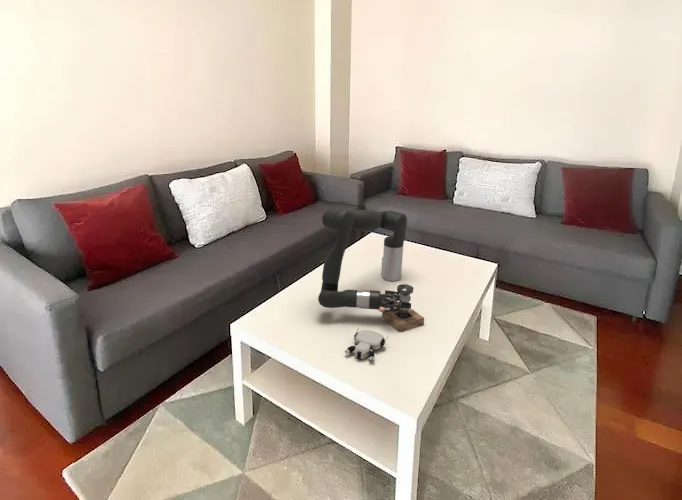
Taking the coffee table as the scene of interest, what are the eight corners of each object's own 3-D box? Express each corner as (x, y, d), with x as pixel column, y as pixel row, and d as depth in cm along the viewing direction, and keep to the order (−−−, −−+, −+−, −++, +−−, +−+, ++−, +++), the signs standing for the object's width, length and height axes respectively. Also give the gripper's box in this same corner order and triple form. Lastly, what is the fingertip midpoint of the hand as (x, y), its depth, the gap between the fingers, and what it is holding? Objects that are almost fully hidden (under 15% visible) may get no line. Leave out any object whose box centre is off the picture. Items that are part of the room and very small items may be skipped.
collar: (382, 318, 190) (382, 311, 189) (405, 311, 195) (406, 305, 194) (399, 332, 180) (400, 325, 179) (423, 324, 186) (424, 317, 184)
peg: (391, 319, 189) (393, 286, 183) (404, 315, 192) (406, 282, 186) (401, 326, 184) (403, 292, 178) (413, 322, 187) (416, 289, 181)
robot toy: (374, 367, 160) (388, 343, 173) (374, 357, 158) (389, 333, 171) (342, 358, 165) (358, 335, 177) (342, 348, 163) (358, 325, 175)
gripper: (368, 299, 177) (412, 302, 176) (369, 283, 191) (410, 285, 189) (367, 316, 180) (410, 319, 179) (368, 299, 193) (409, 301, 192)
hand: (410, 302), depth 184 cm, fingers open, 5 cm apart
